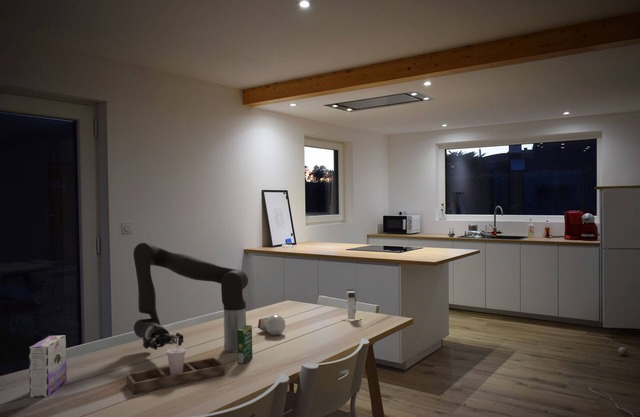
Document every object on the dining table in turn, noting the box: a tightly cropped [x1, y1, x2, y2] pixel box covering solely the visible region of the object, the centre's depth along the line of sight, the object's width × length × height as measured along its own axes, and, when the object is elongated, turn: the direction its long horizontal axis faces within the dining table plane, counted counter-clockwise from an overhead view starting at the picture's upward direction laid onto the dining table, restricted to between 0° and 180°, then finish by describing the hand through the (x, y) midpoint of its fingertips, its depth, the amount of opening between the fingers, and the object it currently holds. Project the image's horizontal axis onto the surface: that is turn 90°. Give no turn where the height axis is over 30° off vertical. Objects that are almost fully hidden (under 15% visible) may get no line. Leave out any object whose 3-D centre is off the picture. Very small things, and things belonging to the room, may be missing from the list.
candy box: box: [28, 334, 68, 398], centre depth 158 cm, size 14×6×16 cm, turn 5°
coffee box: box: [237, 324, 253, 365], centre depth 184 cm, size 8×3×13 cm, turn 162°
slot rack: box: [125, 357, 226, 396], centre depth 165 cm, size 31×11×4 cm, turn 123°
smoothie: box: [166, 338, 187, 375], centre depth 165 cm, size 6×6×14 cm
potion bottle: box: [257, 314, 286, 336], centre depth 225 cm, size 9×10×15 cm
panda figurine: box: [346, 288, 357, 319], centre depth 252 cm, size 12×11×15 cm
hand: (168, 344), depth 174 cm, fingers open, 8 cm apart
